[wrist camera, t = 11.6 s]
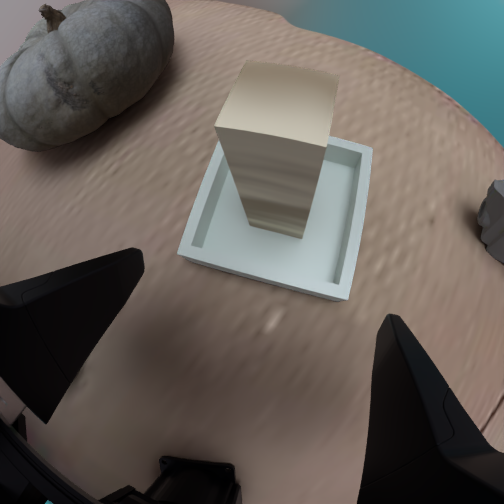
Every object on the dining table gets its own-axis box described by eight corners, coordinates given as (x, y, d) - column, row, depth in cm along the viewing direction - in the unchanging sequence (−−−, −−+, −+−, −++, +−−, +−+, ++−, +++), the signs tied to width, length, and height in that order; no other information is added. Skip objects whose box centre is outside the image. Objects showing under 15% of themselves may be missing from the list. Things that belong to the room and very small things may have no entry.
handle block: (302, 239, 20) (326, 147, 9) (249, 225, 21) (214, 126, 9) (313, 191, 21) (339, 75, 9) (264, 179, 22) (246, 60, 10)
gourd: (19, 220, 21) (-79, 123, 6) (35, 116, 31) (-9, 47, 15) (221, 100, 24) (188, -58, 9) (163, 43, 34) (138, -39, 18)
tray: (338, 301, 20) (347, 300, 17) (190, 261, 21) (176, 253, 18) (363, 166, 22) (372, 148, 19) (234, 137, 23) (228, 117, 20)
